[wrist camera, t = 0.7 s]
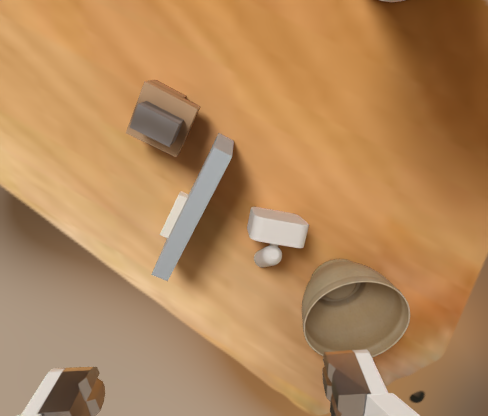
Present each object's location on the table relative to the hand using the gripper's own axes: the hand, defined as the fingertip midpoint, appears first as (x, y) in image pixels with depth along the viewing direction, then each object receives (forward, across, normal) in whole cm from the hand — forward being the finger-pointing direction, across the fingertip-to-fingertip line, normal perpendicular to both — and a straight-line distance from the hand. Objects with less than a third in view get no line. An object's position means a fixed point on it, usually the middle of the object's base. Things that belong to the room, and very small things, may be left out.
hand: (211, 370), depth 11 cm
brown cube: (+38, +9, -4) cm, 39 cm away
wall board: (+38, +6, +8) cm, 39 cm away
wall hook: (+38, -5, +16) cm, 42 cm away
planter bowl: (+38, -17, +27) cm, 49 cm away
